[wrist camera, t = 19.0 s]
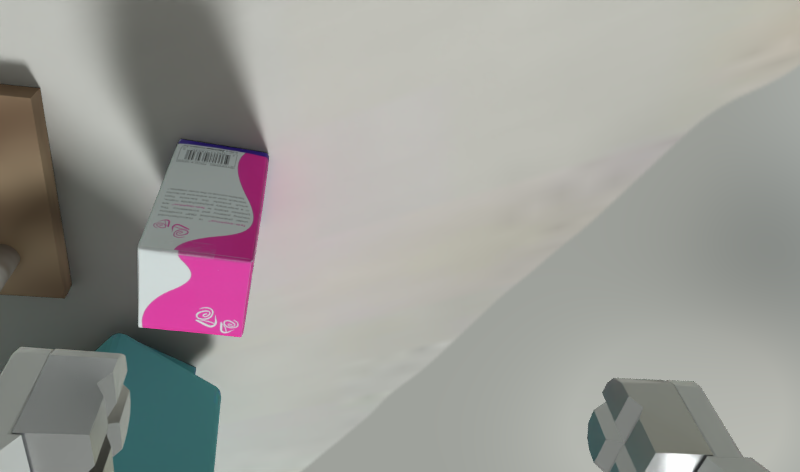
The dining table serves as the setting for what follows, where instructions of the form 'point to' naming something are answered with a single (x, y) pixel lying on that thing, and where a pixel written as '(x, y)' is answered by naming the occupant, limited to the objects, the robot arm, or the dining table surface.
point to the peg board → (29, 201)
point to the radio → (165, 412)
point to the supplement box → (202, 240)
